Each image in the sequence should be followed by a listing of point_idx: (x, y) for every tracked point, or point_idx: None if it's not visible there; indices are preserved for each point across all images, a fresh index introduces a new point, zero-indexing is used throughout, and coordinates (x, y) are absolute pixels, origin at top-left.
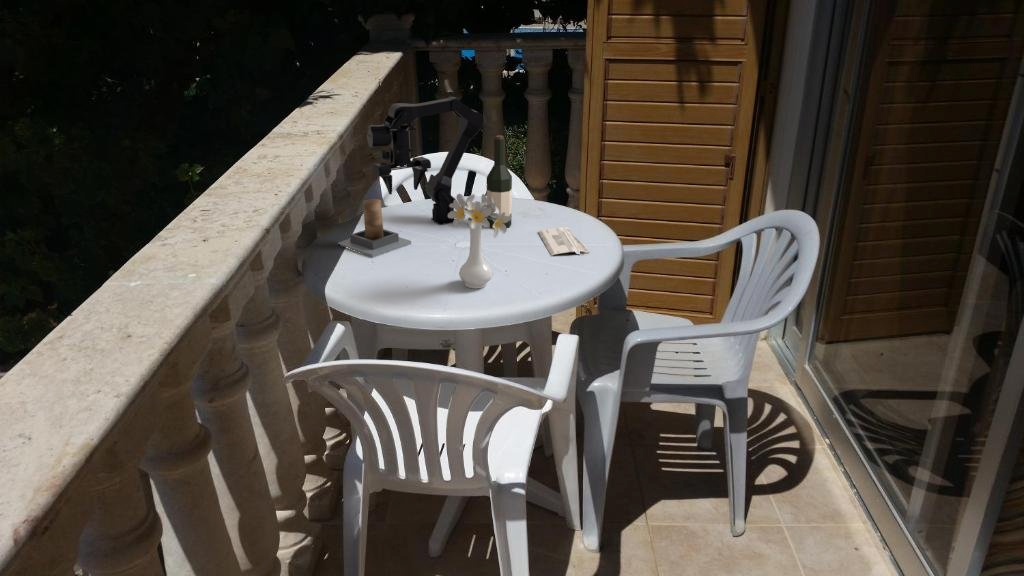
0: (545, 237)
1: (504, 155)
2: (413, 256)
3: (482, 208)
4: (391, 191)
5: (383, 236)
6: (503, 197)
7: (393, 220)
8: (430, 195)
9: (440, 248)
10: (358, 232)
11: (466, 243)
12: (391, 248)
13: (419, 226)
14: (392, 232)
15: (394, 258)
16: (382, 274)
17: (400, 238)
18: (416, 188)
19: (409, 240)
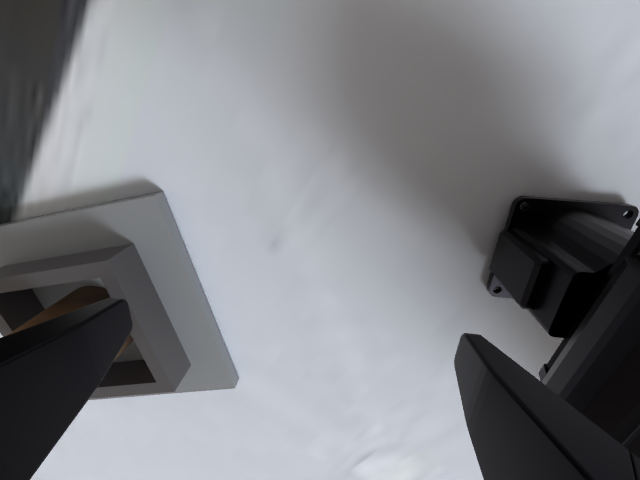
0: None
1: None
2: (195, 448)
3: None
4: (100, 368)
5: (123, 349)
6: None
7: (340, 44)
8: (578, 346)
9: (301, 453)
10: (8, 282)
11: (400, 470)
12: (143, 394)
13: (392, 239)
14: (156, 369)
15: (137, 429)
16: (74, 477)
17: (209, 348)
18: (466, 387)
19: (231, 381)
